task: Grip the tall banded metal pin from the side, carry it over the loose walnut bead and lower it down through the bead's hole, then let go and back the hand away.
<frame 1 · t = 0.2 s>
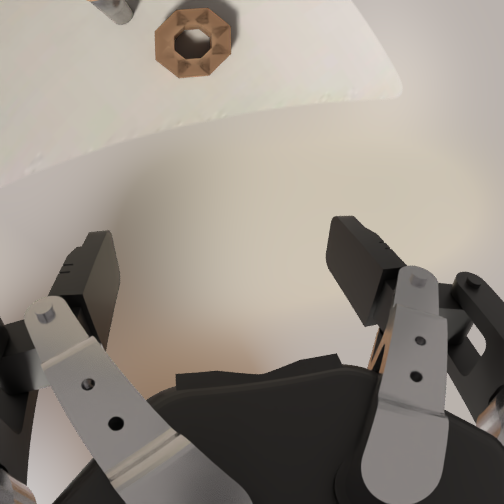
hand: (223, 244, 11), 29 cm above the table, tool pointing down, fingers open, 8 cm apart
bead: (192, 44, 30), on the table
banded metal pin: (122, 15, 26), on the table
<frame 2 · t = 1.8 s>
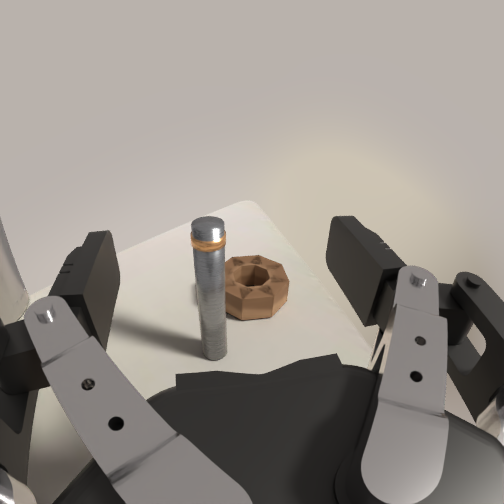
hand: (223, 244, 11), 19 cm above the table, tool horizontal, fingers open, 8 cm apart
bead: (250, 295, 38), on the table
banded metal pin: (215, 350, 31), on the table
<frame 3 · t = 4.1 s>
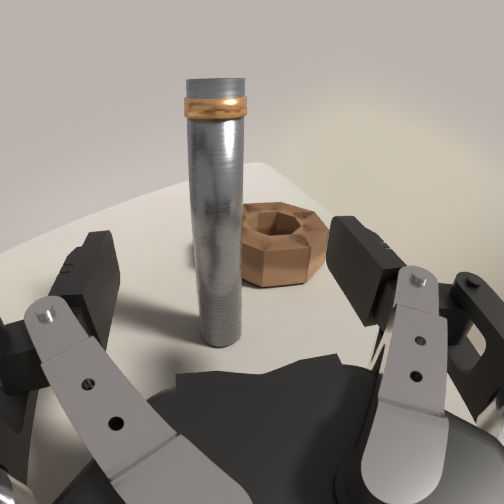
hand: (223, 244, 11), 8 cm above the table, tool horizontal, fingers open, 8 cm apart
bead: (271, 255, 26), on the table
banded metal pin: (221, 332, 19), on the table
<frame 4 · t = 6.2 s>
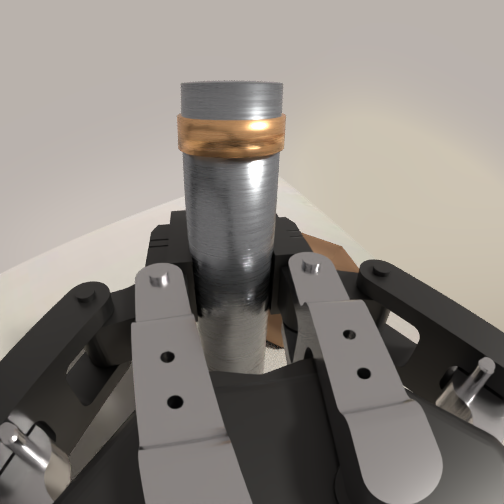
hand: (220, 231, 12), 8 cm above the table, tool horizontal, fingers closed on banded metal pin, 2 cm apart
bead: (290, 300, 22), on the table
banded metal pin: (234, 413, 14), on the table, touching gripper
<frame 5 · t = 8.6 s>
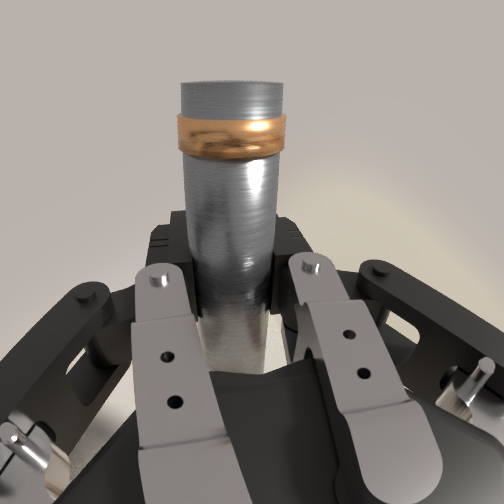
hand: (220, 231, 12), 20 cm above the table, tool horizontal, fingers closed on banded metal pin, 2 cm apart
banded metal pin: (234, 413, 14), point 11 cm above the table, touching gripper
when the fingers open (10 cm above the table, at t = 11.3 s): banded metal pin drops 1 cm, resting in bead.
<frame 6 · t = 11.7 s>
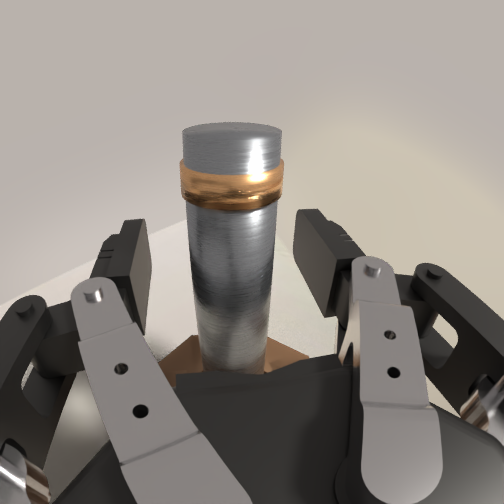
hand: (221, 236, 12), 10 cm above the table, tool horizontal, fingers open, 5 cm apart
bead: (234, 424, 15), on the table
banded metal pin: (235, 425, 15), resting in bead
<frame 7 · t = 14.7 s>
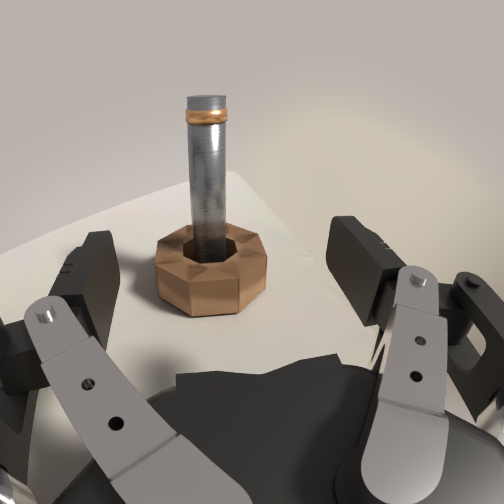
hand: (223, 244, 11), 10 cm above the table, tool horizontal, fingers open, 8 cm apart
bead: (211, 280, 25), on the table
banded metal pin: (211, 280, 25), resting in bead
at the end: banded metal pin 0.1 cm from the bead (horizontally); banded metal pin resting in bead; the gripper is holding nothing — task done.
